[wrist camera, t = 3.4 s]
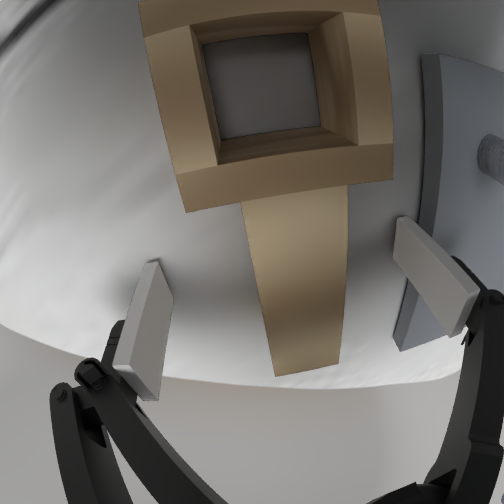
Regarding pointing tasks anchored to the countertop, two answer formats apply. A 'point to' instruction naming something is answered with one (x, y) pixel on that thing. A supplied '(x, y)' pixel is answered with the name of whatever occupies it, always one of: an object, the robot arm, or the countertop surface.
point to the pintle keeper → (492, 157)
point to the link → (281, 153)
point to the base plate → (457, 182)
